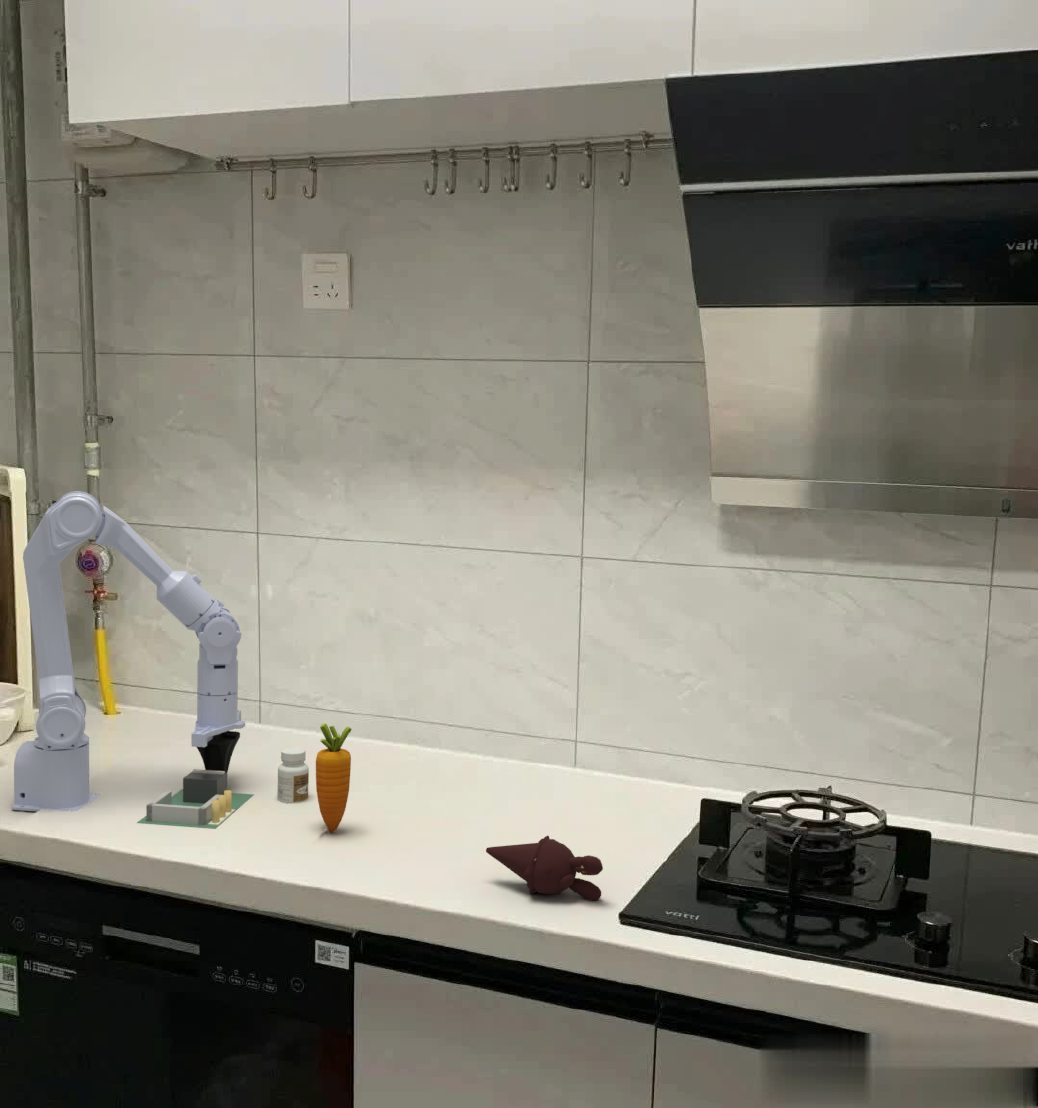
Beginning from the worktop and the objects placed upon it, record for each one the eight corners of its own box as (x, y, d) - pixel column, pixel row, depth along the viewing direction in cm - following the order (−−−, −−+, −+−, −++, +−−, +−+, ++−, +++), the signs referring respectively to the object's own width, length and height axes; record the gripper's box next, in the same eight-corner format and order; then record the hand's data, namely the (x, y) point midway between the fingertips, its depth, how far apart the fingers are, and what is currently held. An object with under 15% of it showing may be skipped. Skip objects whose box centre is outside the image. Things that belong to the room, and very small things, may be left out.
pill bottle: (301, 808, 166) (302, 755, 165) (272, 805, 167) (273, 753, 166) (312, 799, 170) (313, 747, 170) (284, 796, 171) (285, 745, 170)
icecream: (472, 841, 137) (591, 875, 131) (499, 809, 143) (614, 839, 138) (472, 890, 140) (589, 925, 134) (499, 856, 146) (611, 888, 140)
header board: (136, 826, 156) (136, 800, 156) (181, 793, 171) (181, 769, 171) (215, 832, 155) (215, 806, 155) (254, 798, 170) (254, 774, 169)
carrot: (356, 828, 158) (358, 720, 157) (341, 840, 154) (343, 729, 152) (323, 824, 160) (324, 717, 158) (307, 836, 155) (308, 725, 153)
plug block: (183, 802, 165) (183, 775, 165) (194, 793, 169) (194, 768, 169) (216, 804, 165) (217, 778, 164) (227, 795, 169) (227, 770, 168)
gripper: (225, 704, 162) (225, 799, 164) (260, 682, 177) (259, 770, 178) (177, 701, 163) (177, 795, 164) (215, 680, 177) (215, 767, 179)
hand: (216, 782), depth 171 cm, fingers closed
